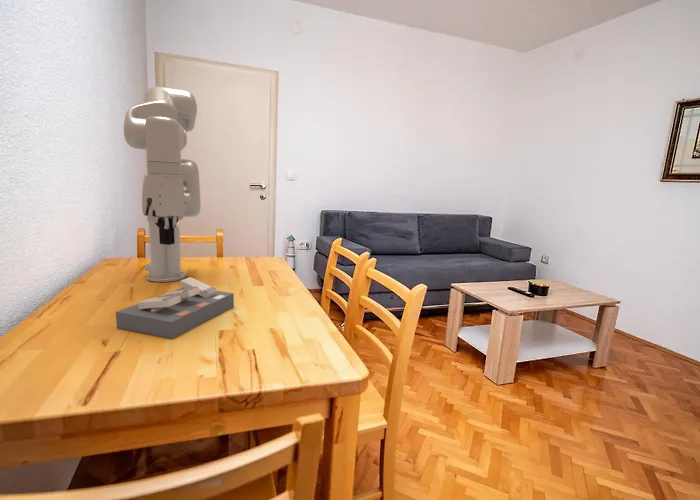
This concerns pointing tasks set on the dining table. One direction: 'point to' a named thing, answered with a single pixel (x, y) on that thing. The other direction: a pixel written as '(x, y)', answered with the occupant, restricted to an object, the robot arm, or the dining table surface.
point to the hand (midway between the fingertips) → (167, 243)
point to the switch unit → (174, 315)
